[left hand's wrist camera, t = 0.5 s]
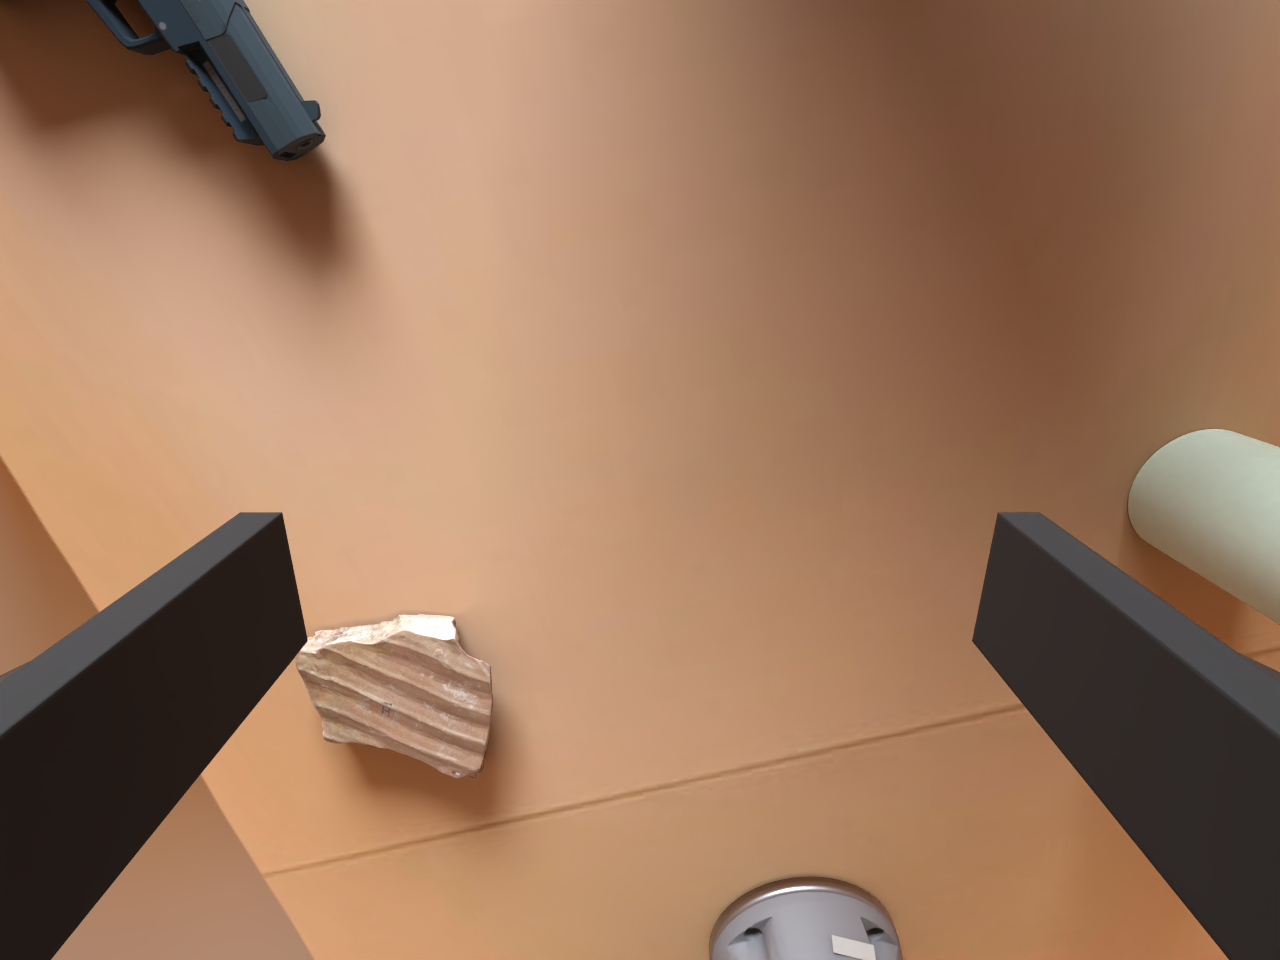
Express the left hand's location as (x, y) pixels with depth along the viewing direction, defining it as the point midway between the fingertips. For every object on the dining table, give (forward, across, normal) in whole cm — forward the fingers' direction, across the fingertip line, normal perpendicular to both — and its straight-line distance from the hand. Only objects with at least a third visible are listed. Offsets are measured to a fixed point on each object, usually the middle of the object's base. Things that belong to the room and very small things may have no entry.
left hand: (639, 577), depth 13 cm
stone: (+28, +16, +24) cm, 40 cm away
